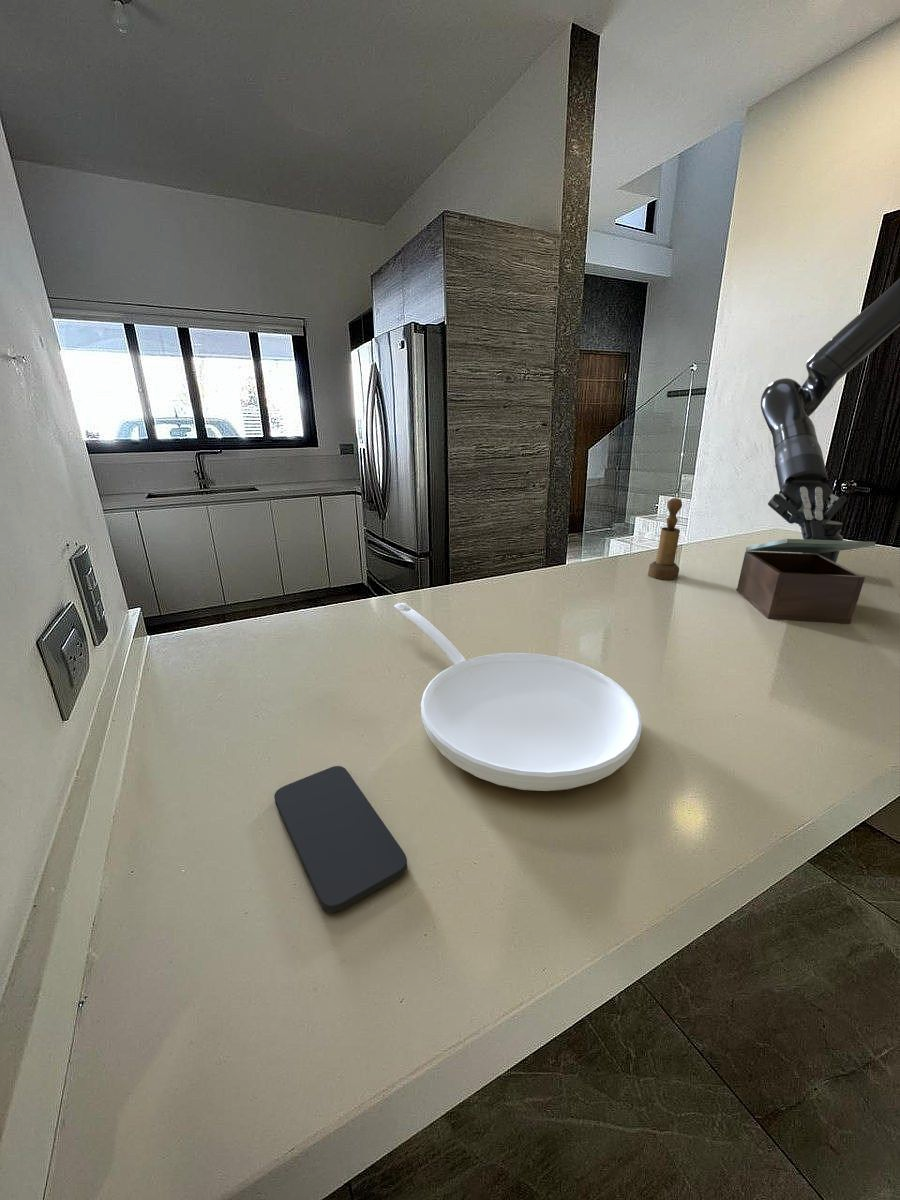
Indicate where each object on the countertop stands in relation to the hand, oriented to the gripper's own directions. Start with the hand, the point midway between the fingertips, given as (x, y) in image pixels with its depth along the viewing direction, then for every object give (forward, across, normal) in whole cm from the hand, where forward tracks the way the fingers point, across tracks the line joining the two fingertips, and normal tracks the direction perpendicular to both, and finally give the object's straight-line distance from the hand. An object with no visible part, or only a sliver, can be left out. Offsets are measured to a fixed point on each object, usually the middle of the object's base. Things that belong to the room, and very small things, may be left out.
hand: (814, 541), depth 87 cm
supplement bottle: (-11, +17, +30) cm, 36 cm away
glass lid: (-1, 0, +4) cm, 4 cm away
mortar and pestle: (-3, -20, +23) cm, 31 cm away
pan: (+38, -56, -18) cm, 70 cm away
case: (+8, 0, +12) cm, 14 cm away
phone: (+56, -66, -36) cm, 94 cm away
